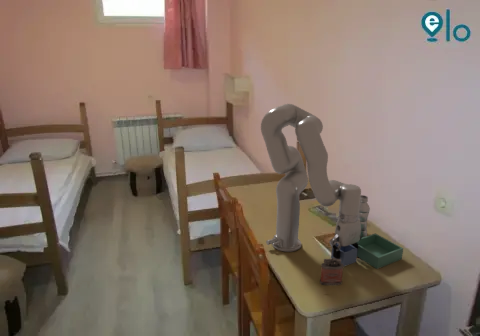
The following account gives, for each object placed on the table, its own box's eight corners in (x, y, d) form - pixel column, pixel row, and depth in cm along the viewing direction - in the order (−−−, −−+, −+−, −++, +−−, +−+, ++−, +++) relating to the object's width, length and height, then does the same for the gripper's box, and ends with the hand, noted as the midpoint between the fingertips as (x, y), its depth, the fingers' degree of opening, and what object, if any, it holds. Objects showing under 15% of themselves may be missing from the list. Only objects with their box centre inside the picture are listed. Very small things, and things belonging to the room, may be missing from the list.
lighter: (340, 279, 143) (342, 256, 140) (342, 285, 140) (345, 261, 136) (318, 279, 142) (320, 256, 139) (321, 285, 139) (323, 261, 136)
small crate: (343, 266, 151) (344, 253, 149) (330, 258, 157) (332, 245, 155) (356, 262, 154) (357, 248, 152) (343, 253, 160) (344, 241, 158)
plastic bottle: (356, 242, 169) (361, 200, 162) (348, 235, 175) (352, 194, 168) (369, 240, 170) (374, 199, 164) (360, 233, 177) (365, 193, 170)
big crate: (376, 268, 149) (378, 257, 148) (349, 251, 161) (351, 241, 160) (401, 259, 156) (403, 248, 155) (373, 243, 168) (375, 233, 166)
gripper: (338, 225, 142) (335, 265, 147) (371, 214, 150) (367, 253, 155) (325, 217, 148) (322, 256, 153) (357, 207, 156) (354, 245, 162)
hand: (345, 254), depth 154 cm, fingers open, 9 cm apart
